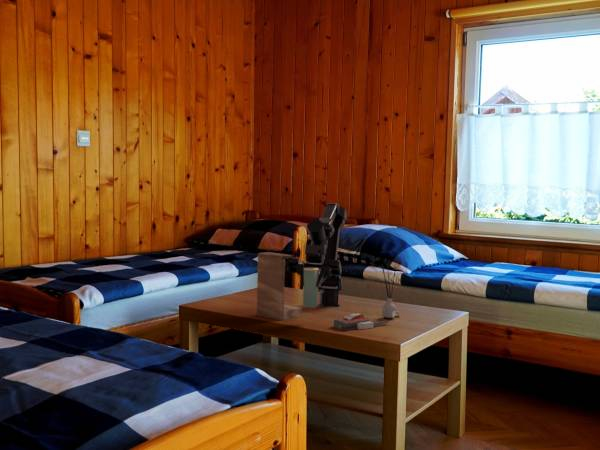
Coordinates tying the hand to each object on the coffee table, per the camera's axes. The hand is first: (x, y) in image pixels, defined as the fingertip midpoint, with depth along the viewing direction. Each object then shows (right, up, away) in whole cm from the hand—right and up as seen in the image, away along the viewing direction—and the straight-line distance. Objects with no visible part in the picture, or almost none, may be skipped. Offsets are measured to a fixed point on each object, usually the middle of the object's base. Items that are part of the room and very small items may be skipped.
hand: (309, 286), depth 220 cm
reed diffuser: (+28, -13, +14) cm, 34 cm away
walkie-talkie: (+17, -14, 0) cm, 22 cm away
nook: (-11, -12, +13) cm, 21 cm away
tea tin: (0, -7, +2) cm, 7 cm away
